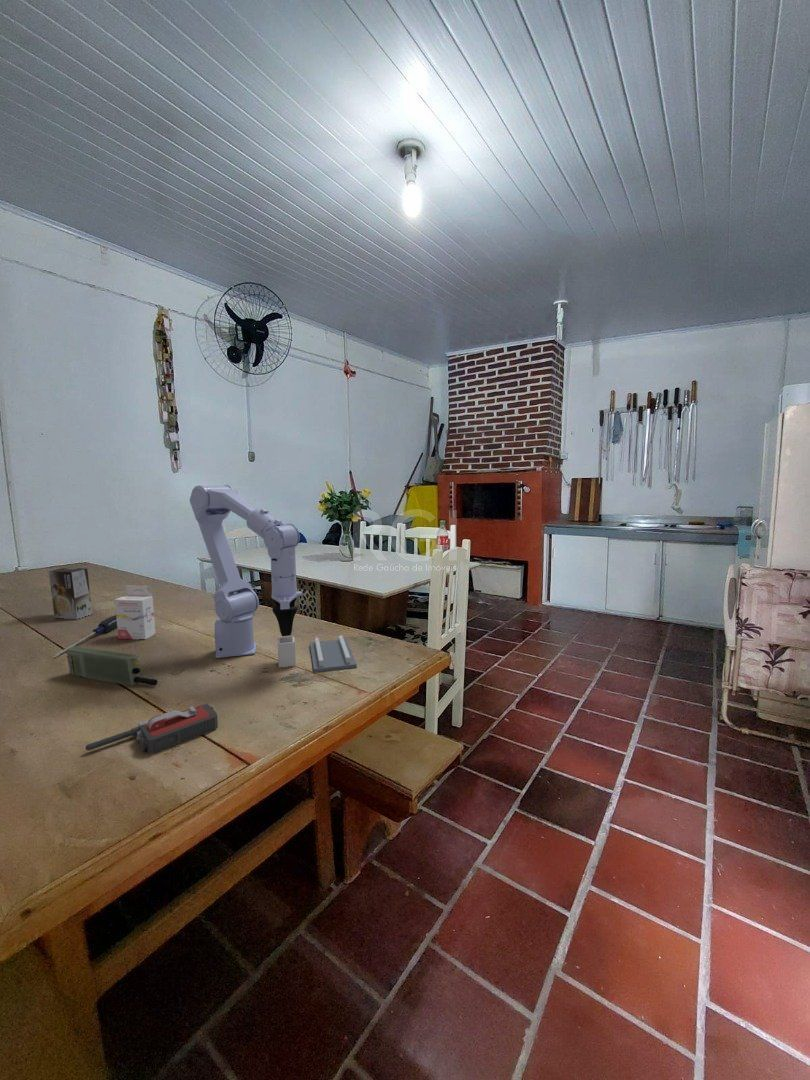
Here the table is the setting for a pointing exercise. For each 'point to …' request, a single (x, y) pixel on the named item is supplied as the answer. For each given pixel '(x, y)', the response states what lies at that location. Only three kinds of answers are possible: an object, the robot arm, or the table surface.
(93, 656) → the handheld radio
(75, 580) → the coffee box
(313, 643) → the rail dock
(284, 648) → the block
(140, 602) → the ink cartridge box
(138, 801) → the table surface
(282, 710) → the table surface
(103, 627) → the screwdriver
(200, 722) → the walkie-talkie
